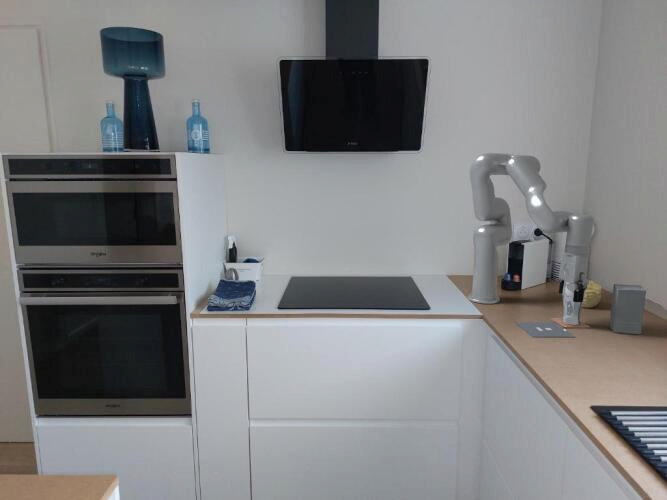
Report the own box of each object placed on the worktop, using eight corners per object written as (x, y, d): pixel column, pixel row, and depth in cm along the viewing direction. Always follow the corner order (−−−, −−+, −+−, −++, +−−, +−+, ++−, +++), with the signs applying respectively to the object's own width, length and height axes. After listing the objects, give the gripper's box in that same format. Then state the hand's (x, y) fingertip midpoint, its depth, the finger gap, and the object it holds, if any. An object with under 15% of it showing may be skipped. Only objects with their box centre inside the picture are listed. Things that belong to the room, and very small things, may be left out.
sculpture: (568, 307, 178) (571, 281, 176) (565, 299, 189) (568, 274, 187) (601, 311, 174) (604, 284, 172) (596, 303, 185) (599, 277, 183)
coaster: (550, 319, 164) (551, 317, 164) (575, 319, 164) (575, 318, 164) (563, 328, 155) (563, 326, 155) (589, 328, 155) (589, 326, 155)
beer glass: (585, 326, 155) (589, 283, 153) (563, 325, 156) (567, 282, 154) (578, 320, 162) (582, 279, 159) (557, 319, 163) (561, 278, 161)
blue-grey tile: (515, 322, 161) (515, 322, 161) (554, 322, 161) (554, 322, 161) (532, 337, 147) (532, 336, 147) (575, 337, 147) (575, 336, 147)
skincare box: (635, 329, 155) (641, 284, 152) (641, 336, 148) (648, 289, 146) (607, 326, 158) (612, 282, 155) (612, 333, 151) (618, 287, 148)
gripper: (553, 244, 164) (548, 290, 167) (579, 255, 147) (572, 305, 150) (574, 245, 164) (568, 290, 167) (602, 255, 147) (594, 305, 150)
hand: (570, 297), depth 159 cm, fingers open, 9 cm apart
